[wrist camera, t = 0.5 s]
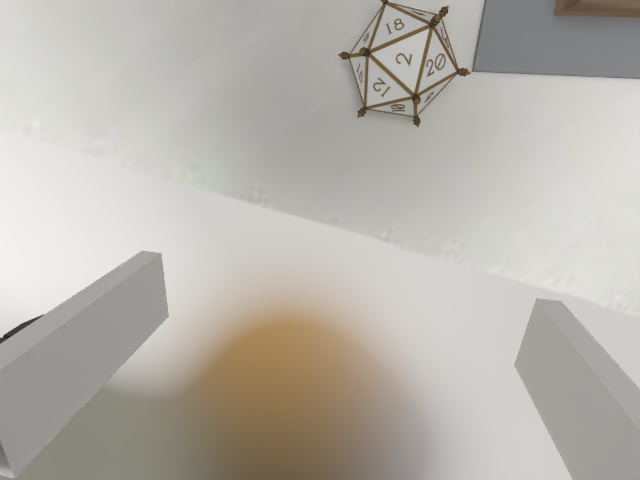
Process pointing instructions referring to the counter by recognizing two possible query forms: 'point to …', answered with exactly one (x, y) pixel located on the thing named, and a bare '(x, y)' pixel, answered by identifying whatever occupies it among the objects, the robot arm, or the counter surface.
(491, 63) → the build mat
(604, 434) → the robot arm
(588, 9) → the walnut block
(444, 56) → the game die
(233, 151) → the counter surface
